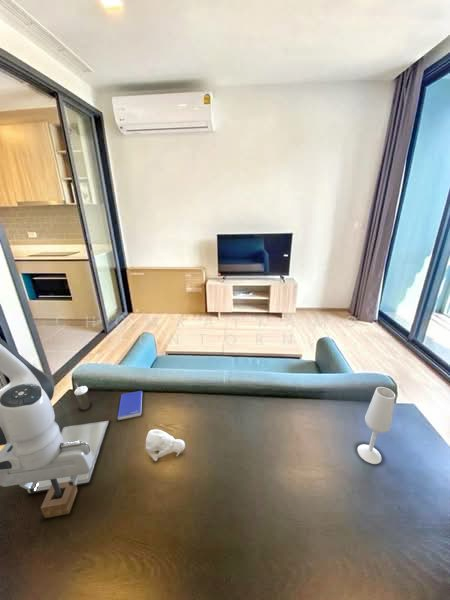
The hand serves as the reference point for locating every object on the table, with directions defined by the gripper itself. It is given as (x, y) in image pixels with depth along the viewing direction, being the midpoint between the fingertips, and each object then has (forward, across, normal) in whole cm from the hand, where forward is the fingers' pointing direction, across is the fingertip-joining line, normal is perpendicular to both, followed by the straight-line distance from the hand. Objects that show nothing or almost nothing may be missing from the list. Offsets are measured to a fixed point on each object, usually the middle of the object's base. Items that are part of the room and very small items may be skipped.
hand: (54, 486), depth 64 cm
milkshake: (+7, +6, -36) cm, 37 cm away
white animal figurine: (+7, -27, -10) cm, 30 cm away
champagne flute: (+6, -90, +2) cm, 91 cm away
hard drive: (+7, -12, -33) cm, 36 cm away
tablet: (+7, +2, -15) cm, 17 cm away
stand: (+7, 0, 0) cm, 7 cm away
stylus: (+7, 0, 0) cm, 7 cm away
